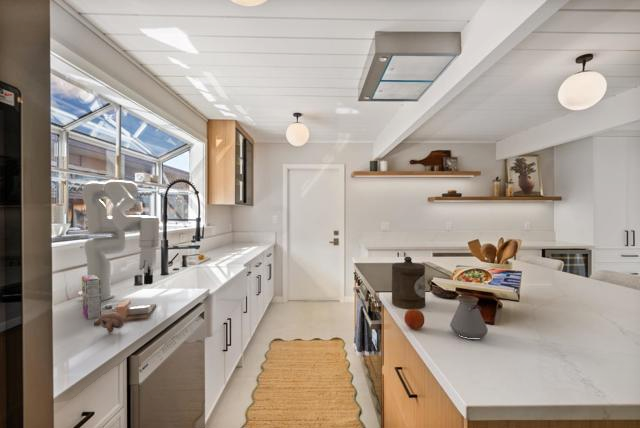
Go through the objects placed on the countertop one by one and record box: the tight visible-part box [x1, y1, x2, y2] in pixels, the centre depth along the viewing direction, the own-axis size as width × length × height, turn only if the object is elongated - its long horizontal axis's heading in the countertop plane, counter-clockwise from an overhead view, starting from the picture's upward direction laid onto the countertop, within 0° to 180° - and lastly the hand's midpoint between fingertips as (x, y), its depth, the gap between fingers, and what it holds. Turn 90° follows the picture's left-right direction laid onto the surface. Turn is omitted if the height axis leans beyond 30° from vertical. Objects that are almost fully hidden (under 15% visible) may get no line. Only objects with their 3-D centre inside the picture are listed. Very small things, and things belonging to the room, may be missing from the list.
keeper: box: [115, 300, 132, 319], centre depth 120 cm, size 3×8×5 cm, turn 19°
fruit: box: [403, 307, 425, 331], centre depth 106 cm, size 7×7×8 cm
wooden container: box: [391, 256, 426, 310], centre depth 134 cm, size 15×15×22 cm
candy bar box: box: [81, 275, 102, 320], centre depth 125 cm, size 11×5×16 cm, turn 47°
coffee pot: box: [449, 294, 488, 339], centre depth 95 cm, size 21×12×15 cm, turn 161°
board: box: [93, 303, 157, 327], centre depth 124 cm, size 18×18×1 cm
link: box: [101, 304, 151, 315], centre depth 121 cm, size 18×5×4 cm, turn 105°
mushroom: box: [98, 312, 125, 334], centre depth 105 cm, size 8×6×8 cm
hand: (148, 283), depth 132 cm, fingers closed
